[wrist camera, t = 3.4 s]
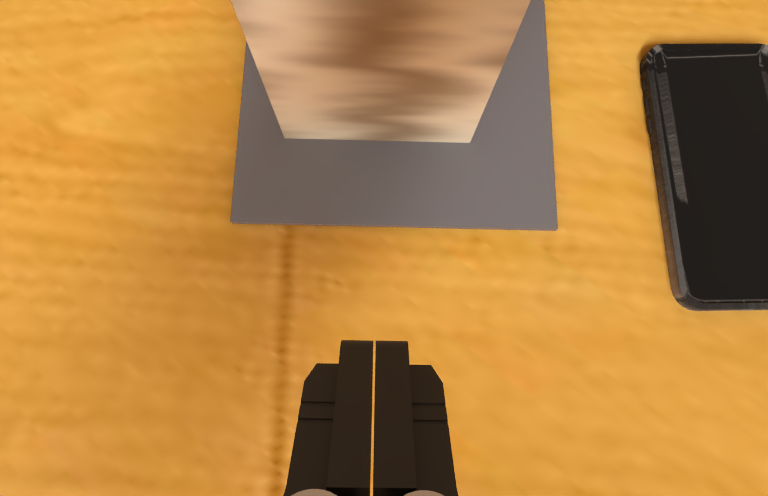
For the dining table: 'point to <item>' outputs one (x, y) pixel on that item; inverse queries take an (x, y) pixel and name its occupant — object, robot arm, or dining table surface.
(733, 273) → the phone
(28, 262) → the dining table surface
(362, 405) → the robot arm
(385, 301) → the dining table surface
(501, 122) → the mat
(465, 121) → the placard
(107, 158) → the dining table surface
